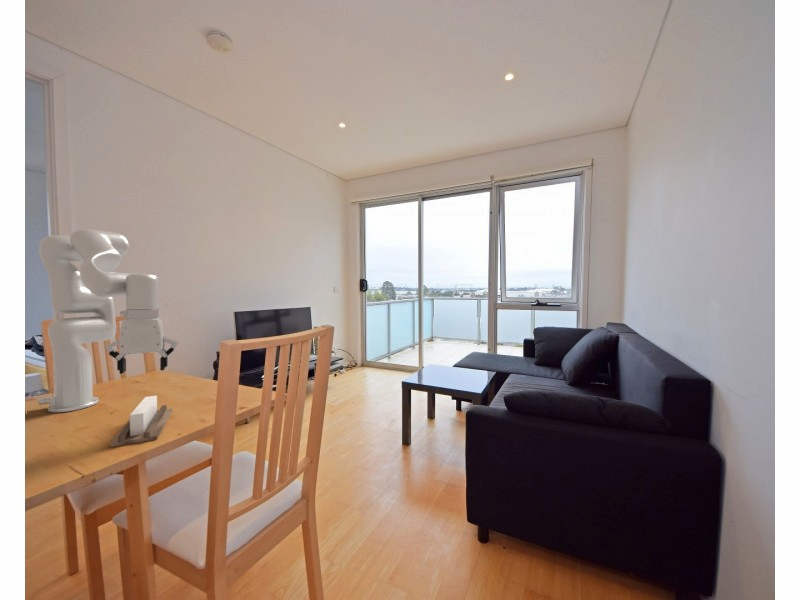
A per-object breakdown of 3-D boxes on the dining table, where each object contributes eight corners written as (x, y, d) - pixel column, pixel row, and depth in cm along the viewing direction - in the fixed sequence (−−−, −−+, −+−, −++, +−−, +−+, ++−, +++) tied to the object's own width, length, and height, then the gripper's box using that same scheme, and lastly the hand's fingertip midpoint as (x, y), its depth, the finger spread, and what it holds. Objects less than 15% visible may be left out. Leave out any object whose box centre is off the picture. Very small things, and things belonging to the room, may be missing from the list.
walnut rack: (110, 447, 83) (110, 438, 83) (135, 416, 103) (135, 409, 103) (157, 439, 88) (156, 430, 88) (172, 411, 107) (172, 404, 107)
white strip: (130, 436, 87) (129, 415, 87) (145, 415, 102) (145, 396, 101) (143, 434, 89) (143, 413, 88) (157, 413, 103) (156, 395, 103)
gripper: (99, 316, 87) (100, 377, 87) (175, 315, 94) (175, 371, 95) (109, 314, 93) (110, 370, 94) (179, 313, 101) (180, 365, 102)
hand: (143, 370), depth 95 cm, fingers open, 9 cm apart
